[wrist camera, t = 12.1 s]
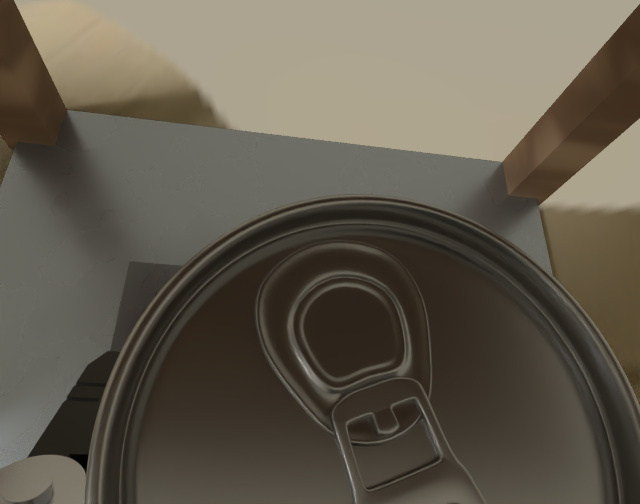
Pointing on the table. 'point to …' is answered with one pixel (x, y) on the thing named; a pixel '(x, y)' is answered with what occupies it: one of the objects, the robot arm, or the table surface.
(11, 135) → the wooden arch stand
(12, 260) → the socket
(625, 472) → the can
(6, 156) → the table surface
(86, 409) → the robot arm
